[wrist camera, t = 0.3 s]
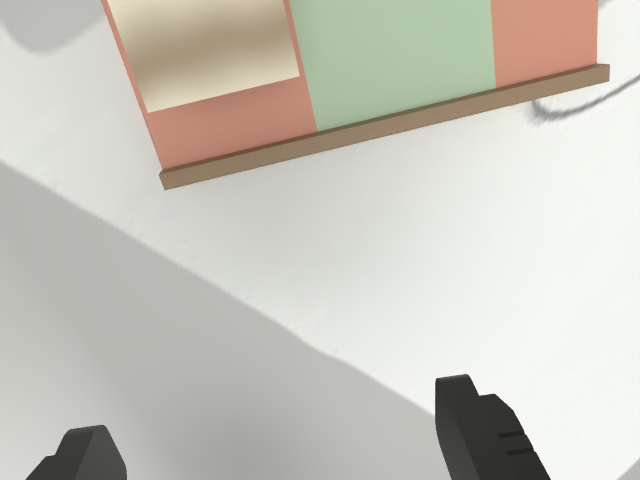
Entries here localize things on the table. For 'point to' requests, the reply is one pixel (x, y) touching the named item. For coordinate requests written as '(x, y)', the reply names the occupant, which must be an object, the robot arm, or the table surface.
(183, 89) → the block
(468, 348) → the table surface
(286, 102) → the tray
